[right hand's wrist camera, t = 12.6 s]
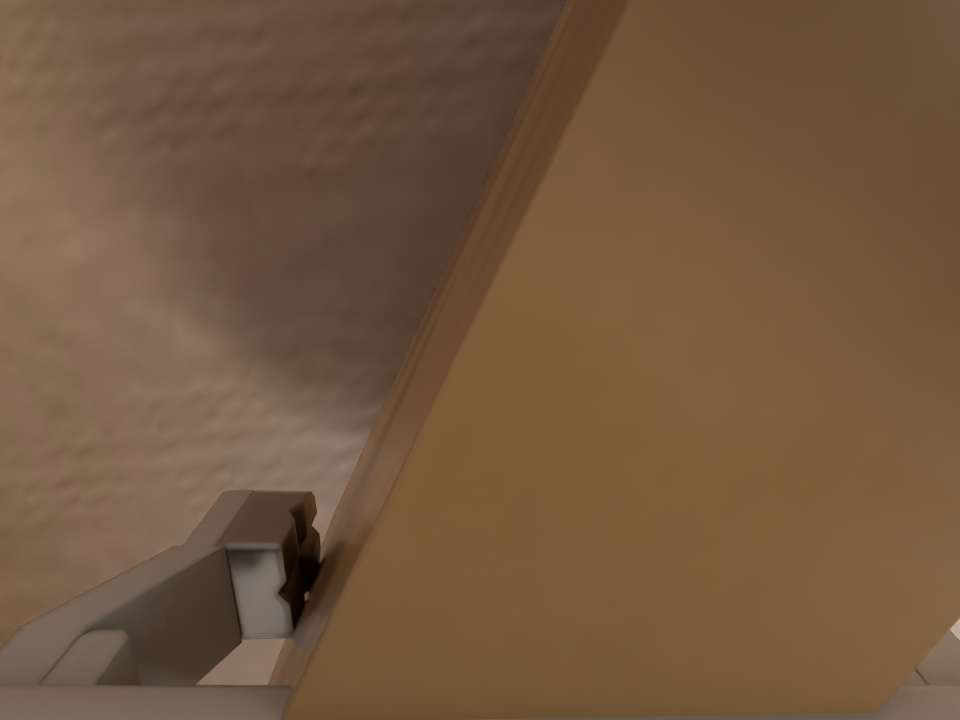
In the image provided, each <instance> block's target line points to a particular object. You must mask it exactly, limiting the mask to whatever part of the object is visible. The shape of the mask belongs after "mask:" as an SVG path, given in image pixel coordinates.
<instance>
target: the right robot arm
mask: <svg viewBox="0 0 960 720" xmlns="http://www.w3.org/2000/svg"><path fill="white" fill-rule="evenodd" d="M316 513H317V510H316V503H315V496H314V495H313V494H312V492H310V491H260V490H257V491H254V490H229V491H226V492H223V493H222V494H221V495H220V497H219V498H218V499H217V501H216V502H215V503H214V505H213V506H212V507H211V509H210V510H209V511H208V513H207V514H206V515H205V517H204V518H203V519H202V521H201V522H200V523H199V525H198V526H197V527H196V529H195V530H194V531H193V533H192V534H191V535H190V537H189V538H188V539H187V541H186V542H185V543H184V545H183V546H173V547H171V548H169V549H167V550H165V551H163V552H162V553H160V554H158V555H156V556H154V557H152V558H150V559H148V560H146V561H144V562H143V563H141V564H139V565H137V566H135V567H133V568H131V569H129V570H127V571H125V572H124V573H122V574H120V575H118V576H116V577H114V578H112V579H110V580H108V581H106V582H105V583H103V584H101V585H99V586H97V587H95V588H93V589H91V590H89V591H87V592H86V593H84V594H82V595H80V596H78V597H76V598H74V599H72V600H70V601H68V602H67V603H65V604H63V605H61V606H59V607H57V608H55V609H53V610H51V611H49V612H48V613H46V614H44V615H42V616H40V617H38V618H36V619H34V620H32V621H30V622H29V623H27V624H25V625H23V626H21V627H19V629H18V630H17V631H16V632H15V633H14V634H13V635H12V636H11V637H10V638H9V639H8V640H7V641H6V642H5V643H4V644H3V645H2V646H1V647H0V720H282V718H281V717H282V714H283V711H284V708H285V704H286V701H287V698H288V695H289V692H290V688H291V685H195V684H196V683H197V682H198V681H200V680H201V679H202V678H203V677H204V676H205V675H206V674H207V673H208V672H209V671H211V670H212V669H213V668H214V667H215V666H216V665H217V664H218V663H219V662H220V661H222V660H223V659H224V658H225V657H226V656H227V655H228V654H229V653H230V652H232V651H233V650H234V649H235V648H236V647H237V646H238V645H239V644H240V643H241V642H242V640H241V639H270V638H291V637H292V635H293V632H294V630H295V627H296V624H297V622H298V619H299V617H300V614H301V611H302V609H303V606H304V603H305V595H304V594H306V593H307V592H308V591H309V589H310V587H311V585H312V582H313V580H314V577H315V574H316V572H317V569H318V566H319V564H320V548H321V545H320V535H319V533H318V532H317V531H316V530H315V529H314V527H313V526H312V523H313V520H314V518H315V516H316ZM477 720H960V640H959V639H958V638H957V637H956V636H955V635H954V634H953V633H952V632H951V631H950V630H949V631H948V632H947V633H946V634H945V635H944V637H943V638H942V639H941V640H940V641H939V642H938V643H937V645H936V646H935V647H934V648H933V649H932V650H931V651H930V653H929V654H928V655H927V656H926V657H925V658H924V660H923V661H922V662H921V663H920V664H919V665H918V666H917V668H916V669H915V670H914V671H913V672H912V673H911V674H910V676H909V677H908V678H907V679H906V680H905V681H904V682H903V684H902V685H901V686H900V687H899V688H898V689H897V690H896V692H895V693H894V694H893V695H892V696H891V697H890V698H889V700H888V701H887V702H886V703H885V704H884V705H883V707H882V708H881V709H880V710H879V711H877V712H875V713H818V714H762V715H705V716H648V717H591V718H534V719H477Z"/></svg>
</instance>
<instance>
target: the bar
mask: <svg viewBox="0 0 960 720" xmlns="http://www.w3.org/2000/svg"><path fill="white" fill-rule="evenodd" d="M304 595H305V603H304V606H303V609H302V611H301V614H300V617H299V619H298V622H297V624H296V627H295V630H294V632H293V635H292V637H291V638H286V639H285V642H284V644H283V647H282V649H281V652H280V655H279V657H278V660H277V662H276V665H275V668H274V670H273V673H272V675H271V678H270V681H269V683H268V685H291V688H290V692H289V695H288V698H287V701H286V704H285V708H284V711H283V714H282V717H281V718H282V720H477V719H534V718H591V717H648V716H705V715H762V714H818V713H875V712H877V711H879V710H880V709H881V708H882V707H883V705H884V704H885V703H886V702H887V701H888V700H889V698H890V697H891V696H892V695H893V694H894V693H895V692H896V690H897V689H898V688H899V687H900V686H901V685H902V684H903V682H904V681H905V680H906V679H907V678H908V677H909V676H910V674H911V673H912V672H913V671H914V670H915V669H916V668H917V666H918V665H919V664H920V663H921V662H922V661H923V660H924V658H925V657H926V656H927V655H928V654H929V653H930V651H931V650H932V649H933V648H934V647H935V646H936V645H937V643H938V642H939V641H940V640H941V639H942V638H943V637H944V635H945V634H946V633H947V632H948V631H949V630H950V629H951V627H952V626H953V625H954V624H955V623H956V622H957V621H958V619H959V618H960V0H566V2H565V4H564V6H563V8H562V11H561V13H560V15H559V17H558V20H557V22H556V24H555V26H554V28H553V31H552V33H551V35H550V37H549V39H548V42H547V44H546V46H545V48H544V51H543V53H542V55H541V57H540V59H539V62H538V64H537V66H536V68H535V70H534V73H533V75H532V77H531V79H530V82H529V84H528V86H527V88H526V90H525V93H524V95H523V97H522V99H521V101H520V104H519V106H518V108H517V110H516V113H515V115H514V117H513V119H512V121H511V124H510V126H509V128H508V130H507V132H506V135H505V137H504V139H503V141H502V144H501V146H500V148H499V150H498V152H497V155H496V157H495V159H494V161H493V163H492V166H491V168H490V170H489V172H488V175H487V177H486V179H485V181H484V183H483V186H482V188H481V190H480V192H479V194H478V197H477V199H476V201H475V203H474V206H473V208H472V210H471V212H470V214H469V217H468V219H467V221H466V223H465V225H464V228H463V230H462V232H461V234H460V237H459V239H458V241H457V243H456V245H455V248H454V250H453V252H452V254H451V256H450V259H449V261H448V263H447V265H446V268H445V270H444V272H443V274H442V276H441V279H440V281H439V283H438V285H437V287H436V290H435V292H434V294H433V296H432V298H431V301H430V303H429V305H428V307H427V310H426V312H425V314H424V316H423V318H422V321H421V323H420V325H419V327H418V329H417V332H416V334H415V336H414V338H413V341H412V343H411V345H410V347H409V349H408V352H407V354H406V356H405V358H404V360H403V363H402V365H401V367H400V369H399V372H398V374H397V376H396V378H395V380H394V383H393V385H392V387H391V389H390V391H389V394H388V396H387V398H386V400H385V403H384V405H383V407H382V409H381V411H380V414H379V416H378V418H377V420H376V422H375V425H374V427H373V429H372V431H371V434H370V436H369V438H368V440H367V442H366V445H365V447H364V449H363V451H362V453H361V456H360V458H359V460H358V462H357V465H356V467H355V469H354V471H353V473H352V476H351V478H350V480H349V482H348V484H347V487H346V489H345V491H344V493H343V496H342V498H341V500H340V502H339V504H338V507H337V509H336V511H335V513H334V515H333V518H332V520H331V522H330V525H329V528H328V530H327V533H326V535H325V538H324V541H323V543H322V546H321V548H320V564H319V566H318V569H317V572H316V574H315V577H314V580H313V582H312V585H311V587H310V589H309V591H308V592H307V593H306V594H304Z"/></svg>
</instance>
